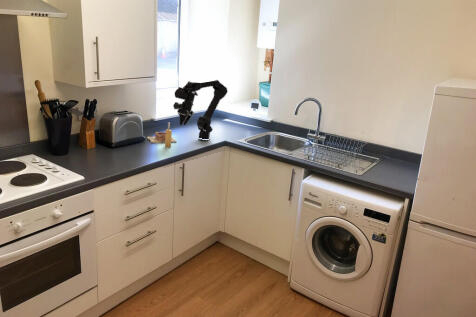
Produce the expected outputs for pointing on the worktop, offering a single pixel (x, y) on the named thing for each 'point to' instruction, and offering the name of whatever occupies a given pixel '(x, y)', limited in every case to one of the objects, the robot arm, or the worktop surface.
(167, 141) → the orange tapered piece
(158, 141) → the beige board with box
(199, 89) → the robot arm
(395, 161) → the worktop surface
